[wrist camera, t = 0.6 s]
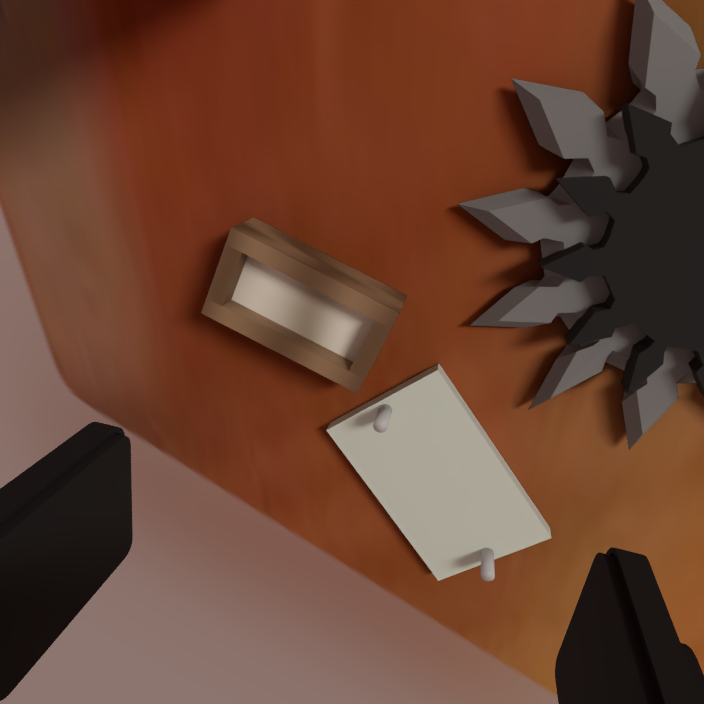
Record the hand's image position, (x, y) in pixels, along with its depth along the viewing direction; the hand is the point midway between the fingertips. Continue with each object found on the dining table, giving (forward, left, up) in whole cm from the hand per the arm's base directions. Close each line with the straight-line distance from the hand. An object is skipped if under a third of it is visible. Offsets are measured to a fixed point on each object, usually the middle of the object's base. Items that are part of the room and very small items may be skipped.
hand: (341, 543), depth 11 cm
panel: (+15, -9, -29) cm, 34 cm away
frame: (-2, -9, -29) cm, 31 cm away
